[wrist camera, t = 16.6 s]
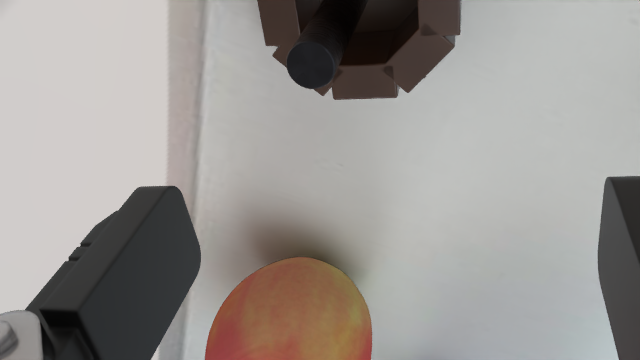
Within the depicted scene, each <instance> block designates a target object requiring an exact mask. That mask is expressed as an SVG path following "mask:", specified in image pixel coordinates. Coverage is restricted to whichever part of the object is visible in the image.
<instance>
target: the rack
mask: <svg viewBox="0 0 640 360" xmlns="http://www.w3.org/2000/svg"><path fill="white" fill-rule="evenodd" d="M319 2H320V6H319V7H318V9H317V10H316V12H315V13H314V15H313V16H312V18H311V19H310V21H309V23H308V24H307V26H306V27H305V29H304V30H303V32H302V33H301V35H300V36H299V38H298V39H297V41H296V42H295V44H294V45H293V47H292V48H291V50H290V51H289V53H288V56H287V60H286V65H287V70H288V73H289V75H290V76H291V78H292V79H293V80H294V81H295V82H296V83H297V84H298V85H300V86H302V87H305V88H309V89H318V88H321V87H324V86H326V85H327V84H328V83H330V82H331V80H332V79H333V77H334V75H335V73H336V71H337V68H338V66H339V64H340V62H341V60H342V57H343V55H344V53H345V51H346V49H347V46H348V44H349V42H350V40H351V38H352V35H353V33H368V32H384V31H395V30H396V29H397V28H398V27H399V26H400V25H401V23H402V22H403V21H404V20H405V19H406V18H407V17H408V16H409V15H410V14H411V12H412V11H413V10H414V9H415V8H416V7H417V0H319ZM277 47H279V45H278V46H277ZM425 77H426V76H425ZM425 77H424V78H425Z"/></svg>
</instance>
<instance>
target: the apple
mask: <svg viewBox="0 0 640 360" xmlns="http://www.w3.org/2000/svg"><path fill="white" fill-rule="evenodd" d="M371 351H372V327H371V318H370V314H369V310H368V307H367V304H366V302H365V300H364V298H363V296H362V295H361V293H360V292H359V290H358V289H357V287H356V286H355V284H354V283H353V282H352V281H351V279H350V278H349V277H348V276H347V275H346V274H345V273H343V272H342V271H340V270H339V269H337V268H335V267H334V266H332V265H329V264H327V263H325V262H323V261H320V260H317V259H313V258H308V257H294V258H288V259H284V260H280V261H277V262H274V263H272V264H269V265H267V266H265V267H263V268H261V269H259V270H257V271H256V272H254V273H253V274H251V275H250V276H248V277H247V278H246V279H244V280H243V281H242V282H241V283H240V284H239V285H238V286H237V287H236V288H235V289H234V290H233V291H232V292H231V293H230V295H229V296H228V297H227V298H226V300H225V301H224V303H223V304H222V306H221V307H220V309H219V311H218V313H217V315H216V317H215V319H214V321H213V324H212V326H211V329H210V332H209V336H208V340H207V346H206V353H205V360H371Z"/></svg>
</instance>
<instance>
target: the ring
mask: <svg viewBox="0 0 640 360" xmlns="http://www.w3.org/2000/svg"><path fill="white" fill-rule="evenodd" d="M257 1H258V6H259V12H260V17H261V22H262V28H263V33H264V38H265V44H266V46H278V45H279V47H278V48H277V49H276V51H275V52H274V54H273V57H274V58H275V59H277V60H278V61H279V62H280V63H282V64H283V65H284V66H285V67H287V65H286V60H287V56H288V53H289V51H290V50H291V48H292V47H293V45H294V44H295V42H296V41H297V39H298V38H299V36H300V35H301V33H302V32H303V30H304V29H305V27H306V26H307V24H308V23H309V21H310V19H311V18H312V16H313V15H314V13H315V12H316V10H317V9H318V7H319V6H320V2H319V0H257ZM460 24H461V0H417V7H416V8H415V9H414V10H413V11H412V12H411V14H410V15H409V16H408V17H407V18H406V19H405V20H404V21H403V22H402V23H401V25H400V26H399V27H398V28H397V29H396V30H395V31H384V32H368V33H353V35H352V38H351V40H350V42H349V44H348V46H347V49H346V51H345V53H344V55H343V57H342V60H341V62H340V64H339V66H338V68H337V71H336V73H335V75H334V77H333V79H332V80H331V82H330V83H328V84H327V85H326V86H324V87H321V88H318V89H314V90H315V91H317V92H318V93H319V94H320V95H322V96H324V95H325V94H326V93H327V92H328V90H329V89H330V88H331V87H332V92H333V98H334V99H335V100H341V99H372V98H396V97H397V96H398V92H399V88H400V87H401V88H402V89H403V90H404V91H406V92H407V93H409V92H410V91H411V90H412V89H413V88H414V87H415V86H416V85H417V84H418V83H419V82H420V81H421V80H422V79H423V78H424V77H425V76H426V75H427V74H428V73H429V72H430V71H431V70H432V69H433V68H434V67H435V66H436V65H437V64H438V63H439V62H440V61H441V60H442V59H443V58H444V57H445V56H446V55H447V54H448V53H449V52H450V51H451V50H452V49H453V48H454V47H455V35H460Z"/></svg>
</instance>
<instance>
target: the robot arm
mask: <svg viewBox="0 0 640 360" xmlns="http://www.w3.org/2000/svg"><path fill="white" fill-rule="evenodd" d="M200 263H201V251H200V246H199V242H198V239H197V236H196V233H195V230H194V227H193V224H192V222H191V219H190V216H189V213H188V210H187V207H186V204H185V201H184V198H183V195H182V193H181V191H180V190H179V189H178V188H177V187H175V186H151V187H150V186H149V187H139V188H137V189H136V190H135V191H134V192H133V193H132V194H131V196H130V197H129V198H128V199H127V201H126V202H125V203H124V204H123V206H122V207H121V208H120V209H119V210H118V211H116V212H114V213H113V214H111V215H110V216H108V217H107V218H106V219H104V220H103V221H102V222H100V223H99V224H97V225H96V226H95V227H94V228H93V229H92V230H91V231H90V233H89V234H88V235H87V236H86V237H85V239H84V240H83V241H82V242H81V246H80V247H77V248H76V249H75V250H74V252H73V253H72V254H71V255H70V256H69V261H65V262H64V264H63V265H62V266H61V267H60V268H59V270H58V271H57V272H56V273H55V274H54V276H53V277H52V278H51V279H50V280H49V282H48V283H47V284H46V285H45V286H44V288H43V289H42V290H41V291H40V292H39V294H38V295H37V296H36V297H35V298H34V300H33V301H32V302H31V303H30V304H29V306H28V307H27V308H26V309H25V310H17V311H10V312H6V313H3V314H0V360H151V358H152V356H153V354H154V353H155V351H156V349H157V347H158V346H159V344H160V342H161V340H162V338H163V337H164V335H165V333H166V331H167V329H168V327H169V326H170V324H171V322H172V320H173V318H174V317H175V315H176V313H177V311H178V309H179V307H180V306H181V304H182V302H183V300H184V298H185V297H186V295H187V293H188V291H189V289H190V287H191V286H192V284H193V282H194V280H195V278H196V277H197V274H198V272H199V268H200ZM598 272H599V280H600V285H601V289H602V293H603V297H604V301H605V305H606V309H607V313H608V317H609V321H610V325H611V329H612V333H613V337H614V341H615V345H616V349H617V353H618V357H619V360H640V176H627V177H607V179H606V181H605V186H604V194H603V204H602V214H601V224H600V233H599V243H598Z"/></svg>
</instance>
